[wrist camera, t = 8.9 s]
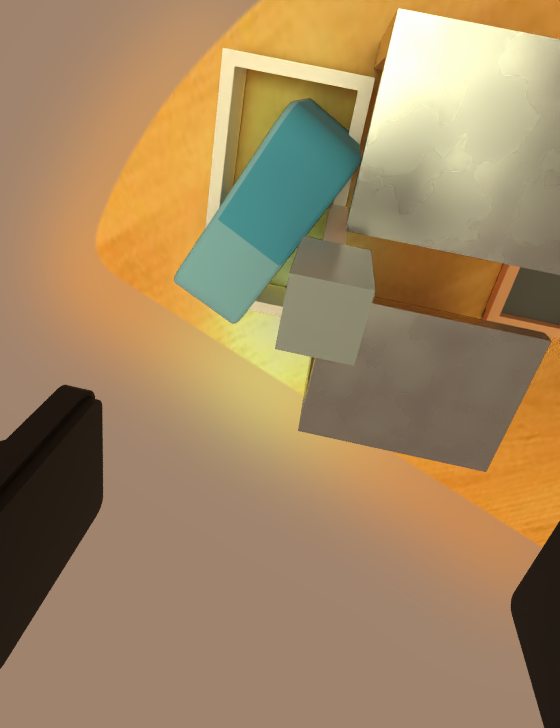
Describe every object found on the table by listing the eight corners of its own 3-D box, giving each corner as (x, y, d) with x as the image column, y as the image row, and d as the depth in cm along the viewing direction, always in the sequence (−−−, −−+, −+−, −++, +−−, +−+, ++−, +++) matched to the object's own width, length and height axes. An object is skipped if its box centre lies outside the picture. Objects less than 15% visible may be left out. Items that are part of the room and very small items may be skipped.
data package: (262, 270, 40) (229, 334, 30) (215, 235, 39) (165, 288, 29) (361, 140, 35) (364, 161, 24) (310, 96, 34) (290, 98, 23)
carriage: (389, 82, 32) (437, 71, 14) (334, 307, 40) (317, 494, 22) (236, 52, 33) (81, 1, 14) (212, 281, 41) (91, 443, 22)
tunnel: (550, 75, 32) (689, 64, 19) (444, 352, 42) (486, 471, 29) (380, 41, 32) (398, 8, 19) (315, 324, 42) (297, 430, 29)
